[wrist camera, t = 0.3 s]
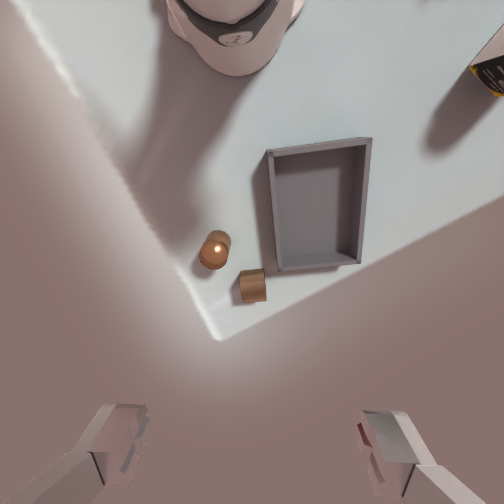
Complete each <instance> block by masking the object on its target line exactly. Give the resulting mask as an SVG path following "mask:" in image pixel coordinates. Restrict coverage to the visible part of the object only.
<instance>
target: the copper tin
mask: <svg viewBox="0 0 504 504" xmlns="http://www.w3.org/2000/svg"><path fill="white" fill-rule="evenodd" d="M230 245H231V239H230V237H229V235H228V234H227V233H225V232H223V231H220V230H216V231H213V232H211V233H210V234H209V235H208V237H207V239H206V241H205V243H204V245H203V247H202V249H201V251H200V255H199V258H200V261H201V263H202V264H203V265H204V266H205V267H207V268H209V269H220V268H222V267H223V266H224V265H225V264H226V262H227V258H228V254H229V250H230Z"/></svg>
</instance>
